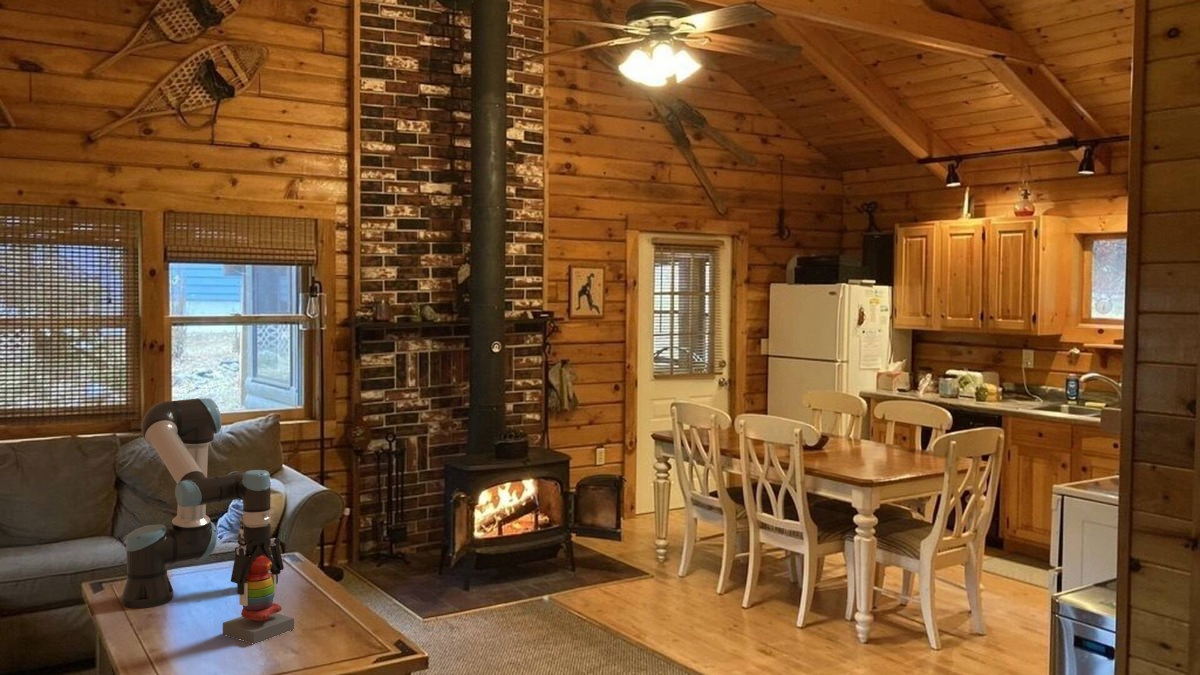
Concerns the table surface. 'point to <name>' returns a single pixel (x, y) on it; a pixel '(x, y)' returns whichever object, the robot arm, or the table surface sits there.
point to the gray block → (258, 628)
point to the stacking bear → (260, 591)
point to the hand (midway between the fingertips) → (258, 600)
